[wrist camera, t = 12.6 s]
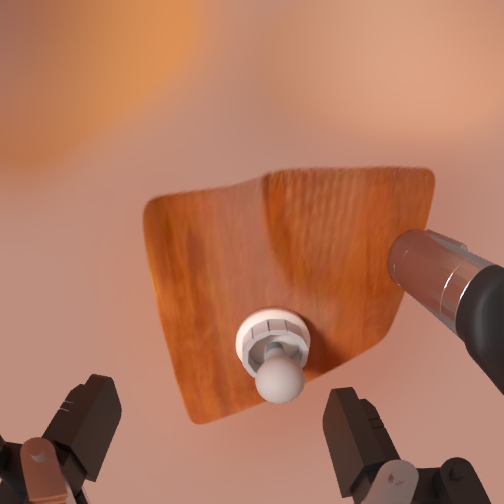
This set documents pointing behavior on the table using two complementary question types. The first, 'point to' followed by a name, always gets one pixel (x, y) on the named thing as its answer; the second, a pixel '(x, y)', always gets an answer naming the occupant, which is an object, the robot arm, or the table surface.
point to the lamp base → (271, 337)
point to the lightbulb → (279, 376)
